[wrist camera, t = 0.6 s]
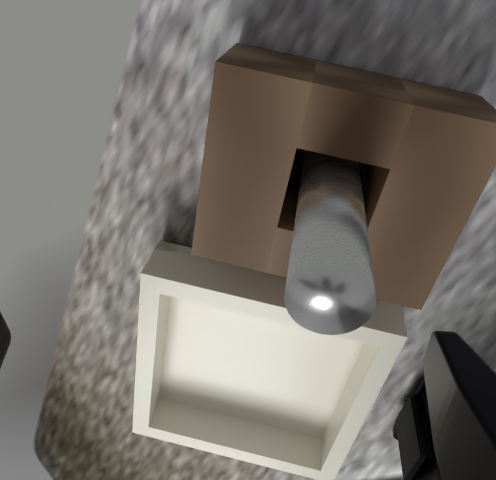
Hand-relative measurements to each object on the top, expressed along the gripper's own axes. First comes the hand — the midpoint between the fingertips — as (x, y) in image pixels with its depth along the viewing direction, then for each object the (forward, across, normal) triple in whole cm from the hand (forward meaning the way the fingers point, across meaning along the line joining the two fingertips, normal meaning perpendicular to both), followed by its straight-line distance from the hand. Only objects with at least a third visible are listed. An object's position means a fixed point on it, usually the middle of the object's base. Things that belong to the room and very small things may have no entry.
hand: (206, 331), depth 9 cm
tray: (+12, 0, +15) cm, 19 cm away
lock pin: (+12, -3, +2) cm, 13 cm away
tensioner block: (+12, -3, +2) cm, 13 cm away
